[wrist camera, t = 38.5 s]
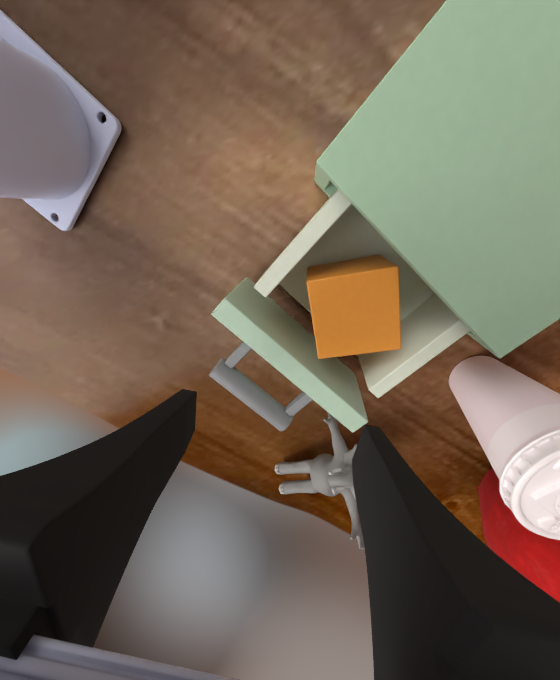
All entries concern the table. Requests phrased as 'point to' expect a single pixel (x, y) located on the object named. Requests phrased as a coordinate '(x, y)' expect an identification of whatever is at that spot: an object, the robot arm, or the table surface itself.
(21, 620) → the robot arm
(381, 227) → the sage green box
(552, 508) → the smoothie
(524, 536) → the apple
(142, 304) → the table surface
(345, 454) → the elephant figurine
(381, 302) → the orange cube
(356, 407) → the drawer
